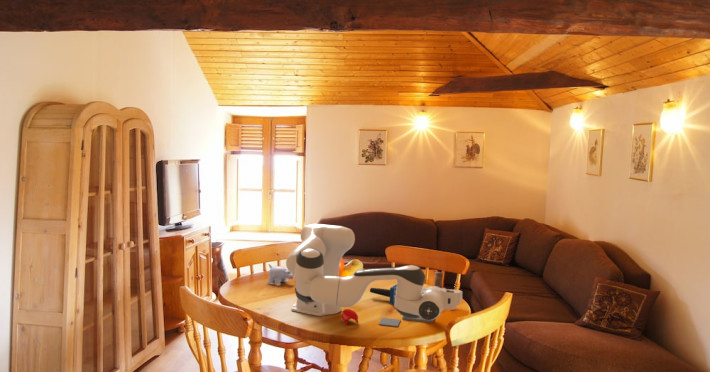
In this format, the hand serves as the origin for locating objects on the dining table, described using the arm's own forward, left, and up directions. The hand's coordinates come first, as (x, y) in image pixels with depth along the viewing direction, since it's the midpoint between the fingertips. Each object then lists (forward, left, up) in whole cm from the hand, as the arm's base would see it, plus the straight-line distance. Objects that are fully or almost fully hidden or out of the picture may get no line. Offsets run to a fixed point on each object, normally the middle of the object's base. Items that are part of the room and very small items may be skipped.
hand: (438, 289), depth 206 cm
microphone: (-24, +32, -18) cm, 44 cm away
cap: (-36, -4, -18) cm, 40 cm away
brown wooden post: (0, -1, -7) cm, 7 cm away
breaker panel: (-9, +12, -17) cm, 23 cm away
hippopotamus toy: (-88, +43, -18) cm, 99 cm away
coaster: (-20, +2, -17) cm, 27 cm away
